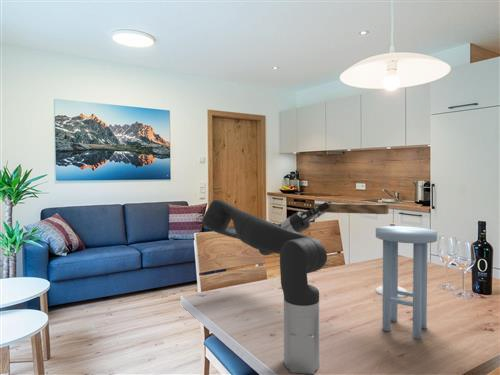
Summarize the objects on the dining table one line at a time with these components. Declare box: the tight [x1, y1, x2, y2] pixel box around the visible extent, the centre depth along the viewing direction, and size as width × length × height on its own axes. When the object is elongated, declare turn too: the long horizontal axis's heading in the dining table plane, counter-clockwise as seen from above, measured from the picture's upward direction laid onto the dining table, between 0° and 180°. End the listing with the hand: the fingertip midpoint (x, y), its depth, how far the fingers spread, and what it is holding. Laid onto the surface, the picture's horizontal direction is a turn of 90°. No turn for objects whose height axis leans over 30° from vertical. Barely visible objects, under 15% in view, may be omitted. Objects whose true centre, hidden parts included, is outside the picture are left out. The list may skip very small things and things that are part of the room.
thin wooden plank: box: [313, 202, 390, 215], centre depth 123 cm, size 26×3×3 cm, turn 54°
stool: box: [375, 225, 438, 340], centre depth 111 cm, size 18×18×32 cm
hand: (329, 203), depth 127 cm, fingers closed on thin wooden plank, 3 cm apart
